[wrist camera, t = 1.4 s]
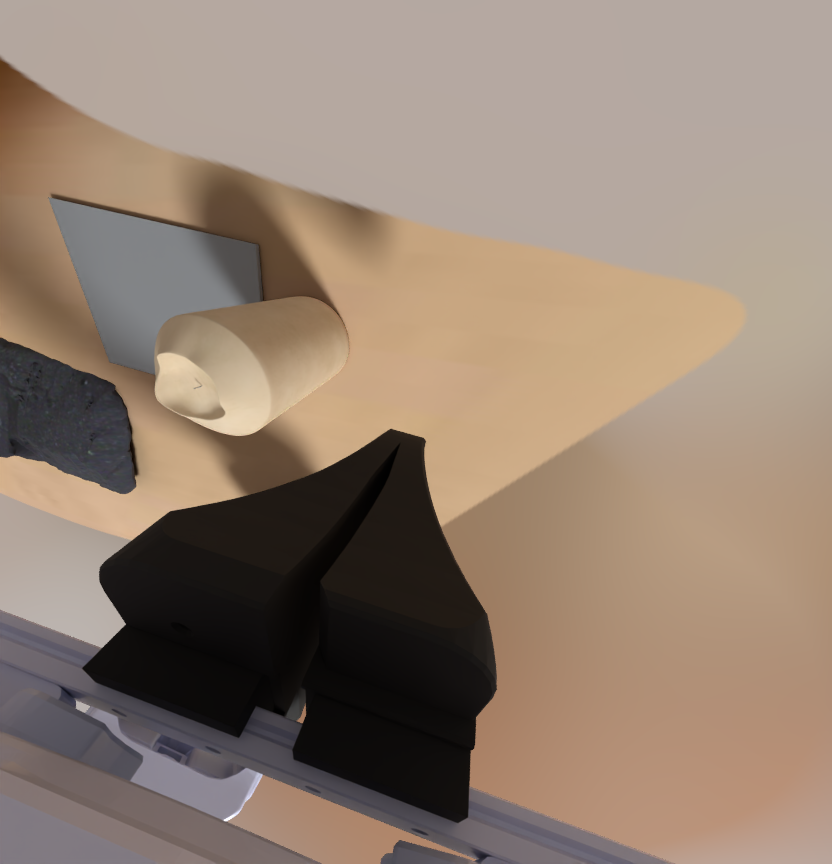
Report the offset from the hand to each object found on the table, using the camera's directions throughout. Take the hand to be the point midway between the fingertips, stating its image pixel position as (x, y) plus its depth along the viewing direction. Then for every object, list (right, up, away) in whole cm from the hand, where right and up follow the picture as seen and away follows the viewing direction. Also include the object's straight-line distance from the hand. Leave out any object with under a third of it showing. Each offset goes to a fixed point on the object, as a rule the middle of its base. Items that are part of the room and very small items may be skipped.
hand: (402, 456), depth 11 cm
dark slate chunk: (-37, +3, +20) cm, 42 cm away
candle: (-7, +7, +10) cm, 14 cm away
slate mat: (-17, +10, +11) cm, 22 cm away
